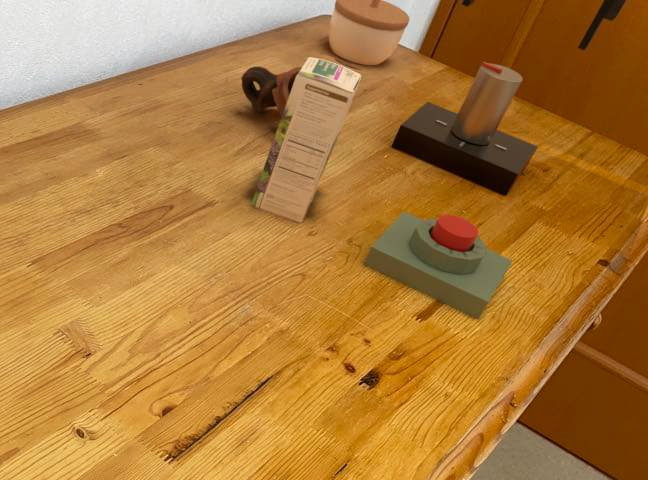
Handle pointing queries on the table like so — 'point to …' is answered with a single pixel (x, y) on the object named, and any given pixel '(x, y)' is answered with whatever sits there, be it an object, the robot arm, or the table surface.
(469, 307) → the red push button box
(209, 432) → the table surface
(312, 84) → the syrup box
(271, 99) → the pottery mug
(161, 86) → the table surface
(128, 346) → the table surface
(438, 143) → the panel
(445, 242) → the button
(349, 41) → the trinket box
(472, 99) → the knob
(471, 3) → the robot arm
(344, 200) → the table surface
